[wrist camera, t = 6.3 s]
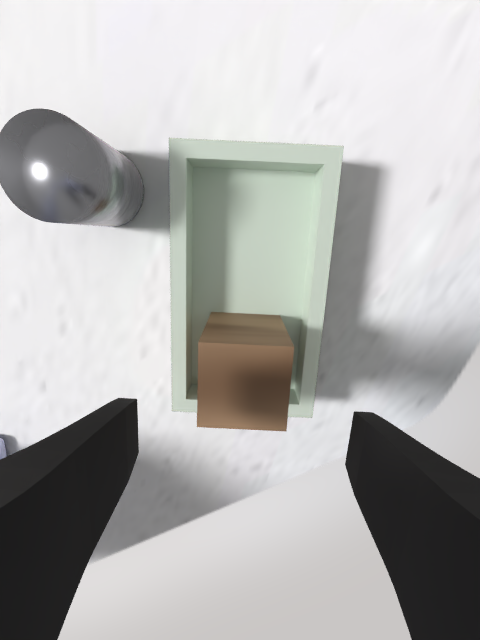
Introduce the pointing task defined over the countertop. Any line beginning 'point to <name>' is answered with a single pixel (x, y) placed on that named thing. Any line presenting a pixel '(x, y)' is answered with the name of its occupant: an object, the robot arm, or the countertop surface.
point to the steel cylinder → (66, 172)
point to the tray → (250, 248)
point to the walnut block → (244, 372)
